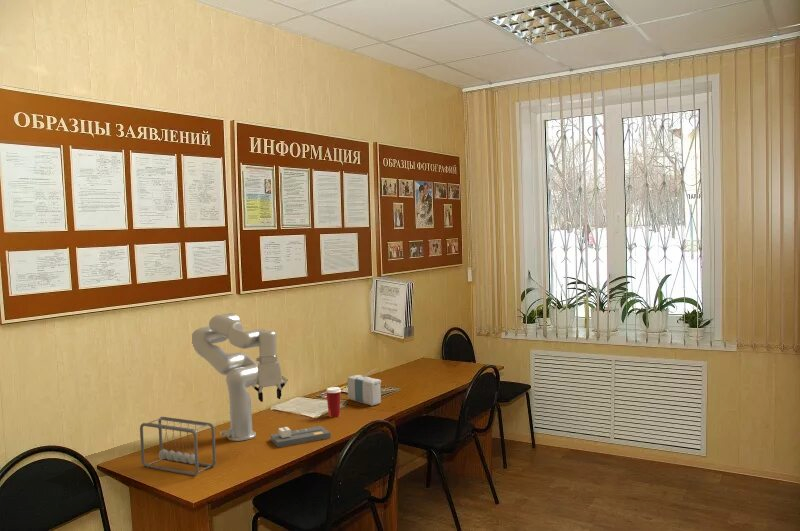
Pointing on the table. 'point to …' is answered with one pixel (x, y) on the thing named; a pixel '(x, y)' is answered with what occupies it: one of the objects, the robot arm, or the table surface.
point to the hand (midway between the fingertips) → (270, 399)
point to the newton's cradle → (178, 455)
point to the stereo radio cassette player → (364, 389)
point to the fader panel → (300, 436)
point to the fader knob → (284, 432)
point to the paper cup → (333, 401)
